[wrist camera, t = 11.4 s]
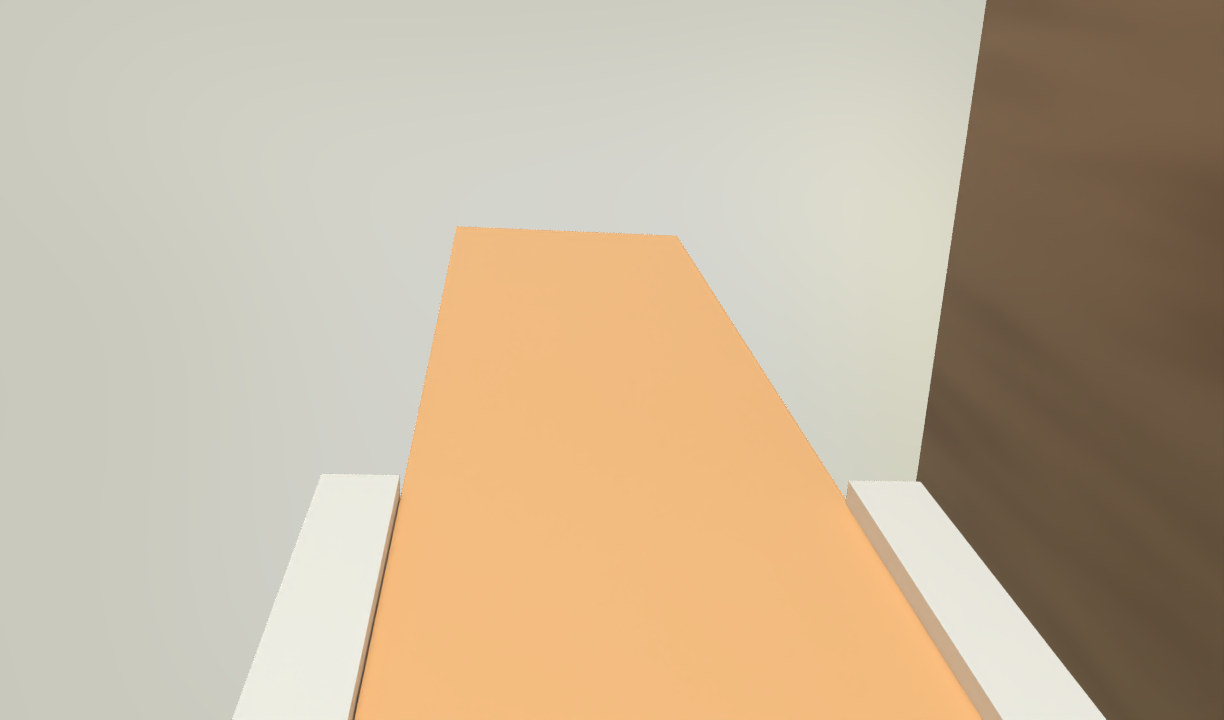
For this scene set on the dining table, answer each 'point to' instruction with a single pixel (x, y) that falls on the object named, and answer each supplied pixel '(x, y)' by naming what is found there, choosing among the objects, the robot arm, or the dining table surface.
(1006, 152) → the walnut pedestal
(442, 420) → the orange rod
